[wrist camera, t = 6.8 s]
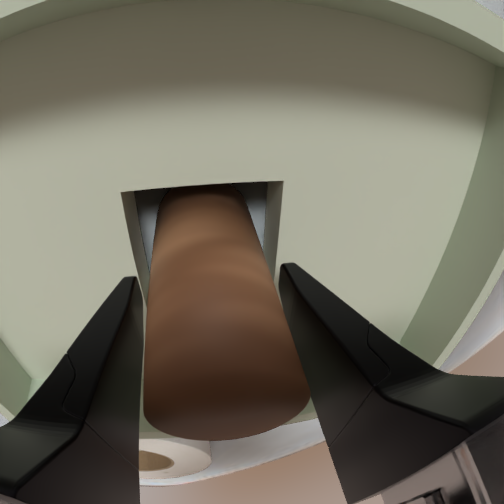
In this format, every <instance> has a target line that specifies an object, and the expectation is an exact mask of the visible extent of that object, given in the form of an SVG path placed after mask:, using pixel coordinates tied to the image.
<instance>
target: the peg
mask: <svg viewBox="0 0 504 504" xmlns="http://www.w3.org/2000/svg"><path fill="white" fill-rule="evenodd" d="M310 396H311V392H310V389H309V386H308V383H307V380H306V377H305V374H304V371H303V368H302V365H301V362H300V359H299V356H298V353H297V350H296V347H295V344H294V341H293V338H292V335H291V332H290V329H289V326H288V323H287V320H286V317H285V314H284V311H283V308H282V305H281V302H280V300H279V297H278V294H277V291H276V288H275V285H274V282H273V279H272V276H271V273H270V270H269V267H268V265H267V262H266V259H265V256H264V253H263V250H262V247H261V244H260V241H259V239H258V236H257V233H256V230H255V227H254V224H253V221H252V218H251V216H250V213H249V210H248V207H247V204H246V201H245V199H244V198H243V196H242V195H241V193H240V192H239V191H238V190H237V189H236V188H235V187H233V186H232V185H231V184H229V183H220V184H205V185H191V186H178V187H173V188H172V189H171V190H170V191H169V192H168V193H167V194H166V195H165V196H164V198H163V200H162V201H161V203H160V206H159V209H158V213H157V220H156V227H155V235H154V243H153V251H152V260H151V269H150V279H149V290H148V302H147V315H146V331H145V350H144V382H143V412H144V416H145V419H146V420H147V421H148V423H149V424H150V425H152V426H153V427H154V428H156V429H157V430H159V431H161V432H163V433H166V434H169V435H171V436H175V437H179V438H184V439H190V440H200V441H221V440H231V439H238V438H244V437H249V436H253V435H257V434H260V433H263V432H266V431H269V430H271V429H274V428H276V427H278V426H281V425H282V424H284V423H286V422H288V421H290V420H291V419H293V418H294V417H295V416H297V415H298V414H299V413H300V412H301V411H302V410H303V409H304V408H305V407H306V406H307V404H308V402H309V400H310Z"/></svg>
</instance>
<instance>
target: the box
mask: <svg viewBox="0 0 504 504" xmlns="http://www.w3.org/2000/svg"><path fill="white" fill-rule="evenodd" d="M260 181H268V185H267V201H266V216H265V231H264V246H263V253H264V256H265V259H266V262H267V265H268V267H269V270H270V273H271V276H272V279H273V282H274V285H275V288H276V291H277V294H278V297H279V300H280V302H281V298H280V293H279V288H278V282H279V273H280V266H281V264H282V263H290V262H294V263H296V264H297V265H298V266H300V267H301V268H302V269H303V270H305V271H306V272H307V273H309V274H310V275H311V276H312V277H314V278H315V279H316V280H318V281H319V282H320V283H321V284H323V285H324V286H325V287H326V288H328V289H329V290H330V291H332V292H333V293H334V294H335V295H337V296H338V297H339V298H340V299H342V300H343V301H344V302H345V303H347V304H348V305H349V306H351V307H352V308H353V309H354V310H356V311H357V312H358V313H359V314H361V315H362V316H363V317H364V318H366V319H367V320H368V321H369V322H370V323H372V324H373V325H374V326H376V327H377V328H378V329H379V330H381V331H382V332H383V333H385V334H386V335H387V336H389V337H390V338H391V339H393V340H394V341H396V342H397V343H399V344H400V345H401V346H403V347H404V348H406V349H407V350H409V351H410V352H412V353H413V354H415V355H416V356H418V357H420V358H421V359H423V360H424V361H426V362H427V363H429V364H430V365H432V366H433V367H435V368H437V369H439V368H440V367H441V365H442V364H443V363H444V362H445V360H446V359H447V358H448V356H449V355H450V354H451V352H452V351H453V350H454V348H455V347H456V345H457V344H458V343H459V341H460V340H461V338H462V337H463V335H464V334H465V333H466V331H467V330H468V328H469V327H470V325H471V324H472V322H473V321H474V319H475V318H476V316H477V314H478V313H479V311H480V310H481V308H482V306H483V305H484V303H485V301H486V300H487V298H488V296H489V295H490V293H491V291H492V290H493V288H494V286H495V284H496V283H497V281H498V279H499V277H500V275H501V273H502V272H503V270H504V20H503V19H502V18H501V17H499V16H498V15H496V14H495V13H493V12H492V11H490V10H489V9H487V8H485V7H484V6H482V5H481V4H479V3H477V2H476V1H474V0H0V413H1V414H2V415H3V416H4V417H5V418H7V419H8V420H9V421H11V420H12V419H13V418H14V417H15V416H16V415H17V414H18V413H19V412H20V410H21V409H22V408H23V407H24V406H25V404H26V403H27V402H28V401H29V399H30V398H31V397H32V396H33V395H34V393H35V392H36V391H37V390H38V389H39V387H40V386H41V385H42V384H43V382H44V381H45V380H46V379H47V377H48V376H49V375H50V374H51V372H52V371H53V370H54V368H55V367H56V365H57V364H58V363H59V361H60V360H61V359H62V357H63V356H64V354H67V350H68V349H69V347H70V346H71V345H72V343H73V342H74V341H75V339H76V338H77V336H78V335H79V334H80V332H81V331H82V330H83V328H84V327H85V326H86V324H87V323H88V322H89V320H90V319H91V318H92V316H93V315H94V314H95V312H96V311H97V310H98V309H99V307H100V306H101V305H102V303H103V302H104V301H105V300H106V298H107V297H108V296H109V295H110V293H111V292H112V291H113V289H114V288H115V287H116V286H117V284H118V283H119V282H120V281H121V280H122V278H123V277H126V276H136V277H137V278H138V281H139V285H140V289H141V292H142V297H143V327H144V350H145V331H146V315H147V302H148V290H149V279H150V274H149V270H148V265H147V261H146V256H145V251H144V246H143V241H142V235H141V230H140V225H139V219H138V213H137V207H136V201H135V195H134V191H136V190H145V189H156V188H167V187H178V186H191V185H205V184H220V183H238V182H260ZM281 305H282V303H281ZM282 308H283V307H282ZM143 382H144V352H143V365H142V379H141V396H140V421H139V439H161V438H179V437H175V436H171V435H169V434H166V433H163V432H161V431H159V430H157V429H156V428H154V427H153V426H152V425H150V424H149V423H148V421H147V420H146V419H145V416H144V412H143ZM316 418H318V416H317V413H316V411H315V408H314V405H313V402H312V399H311V396H310V400H309V402H308V404H307V406H306V407H305V408H304V409H303V410H302V411H301V412H300V413H299V414H298V415H297V416H295V417H294V418H293V419H291V420H290V421H288V422H286V423H284V424H282V425H287V424H292V423H297V422H302V421H307V420H311V419H316ZM282 425H281V426H282Z"/></svg>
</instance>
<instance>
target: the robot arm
mask: <svg viewBox="0 0 504 504" xmlns="http://www.w3.org/2000/svg"><path fill="white" fill-rule="evenodd" d="M278 288H279V293H280V298H281V303H282V307H283V311H284V314H285V317H286V320H287V323H288V326H289V329H290V332H291V335H292V338H293V341H294V344H295V347H296V350H297V353H298V356H299V359H300V362H301V365H302V368H303V371H304V374H305V377H306V380H307V383H308V386H309V389H310V392H311V399H312V402H313V405H314V408H315V411H316V413H317V416H318V419H319V422H320V425H321V428H322V431H323V434H324V437H325V439H326V442H327V445H328V447H329V451H330V454H331V457H332V460H333V463H334V466H335V469H336V472H337V475H338V478H339V480H340V483H341V486H342V489H343V492H344V495H345V498H346V501H347V503H348V504H355V503H358V502H360V501H363V500H366V499H369V498H371V497H374V496H377V495H379V494H381V495H382V498H383V501H384V504H504V377H489V376H487V377H486V376H467V375H454V374H449V373H445V372H443V371H441V370H438V369H437V368H435V367H433V366H432V365H430V364H429V363H427V362H426V361H424V360H423V359H421V358H420V357H418V356H416V355H415V354H413V353H412V352H410V351H409V350H407V349H406V348H404V347H403V346H401V345H400V344H399V343H397V342H396V341H394V340H393V339H391V338H390V337H389V336H387V335H386V334H385V333H383V332H382V331H381V330H379V329H378V328H377V327H376V326H374V325H373V324H372V323H370V322H369V321H368V320H367V319H366V318H364V317H363V316H362V315H361V314H359V313H358V312H357V311H356V310H354V309H353V308H352V307H351V306H349V305H348V304H347V303H345V302H344V301H343V300H342V299H340V298H339V297H338V296H337V295H335V294H334V293H333V292H332V291H330V290H329V289H328V288H326V287H325V286H324V285H323V284H321V283H320V282H319V281H318V280H316V279H315V278H314V277H312V276H311V275H310V274H309V273H307V272H306V271H305V270H303V269H302V268H301V267H300V266H298V265H297V264H296V263H294V262H290V263H282V264H281V266H280V273H279V282H278ZM143 352H144V327H143V297H142V292H141V289H140V285H139V281H138V278H137V277H136V276H126V277H123V278H122V280H121V281H120V282H119V283H118V284H117V286H116V287H115V288H114V289H113V291H112V292H111V293H110V295H109V296H108V297H107V298H106V300H105V301H104V302H103V303H102V305H101V306H100V307H99V309H98V310H97V311H96V312H95V314H94V315H93V316H92V318H91V319H90V320H89V322H88V323H87V324H86V326H85V327H84V328H83V330H82V331H81V332H80V334H79V335H78V336H77V338H76V339H75V341H74V342H73V343H72V345H71V346H70V347H69V349H68V350H67V354H64V356H63V357H62V359H61V360H60V361H59V363H58V364H57V365H56V367H55V368H54V370H53V371H52V372H51V374H50V375H49V376H48V377H47V379H46V380H45V381H44V382H43V384H42V385H41V386H40V387H39V389H38V390H37V391H36V392H35V393H34V395H33V396H32V397H31V398H30V399H29V401H28V402H27V403H26V404H25V406H24V407H23V408H22V409H21V410H20V412H19V413H18V414H17V415H16V416H15V417H14V418H13V419H12V420H11V421H10V422H9V423H7V424H6V425H4V426H2V427H0V504H140V489H139V421H140V396H141V379H142V365H143Z"/></svg>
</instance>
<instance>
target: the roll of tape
mask: <svg viewBox="0 0 504 504" xmlns="http://www.w3.org/2000/svg"><path fill="white" fill-rule="evenodd" d="M139 450H140V451H139V479H166V478H177V477H181V476H186V475H191V474H194V473H197V472H199V471H202V470H204V469H206V468H207V467H208V466H209V465H210V464H211V462H212V458H211V450H210V443H209V441H200V440H190V439H184V438H161V439H139Z"/></svg>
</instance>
